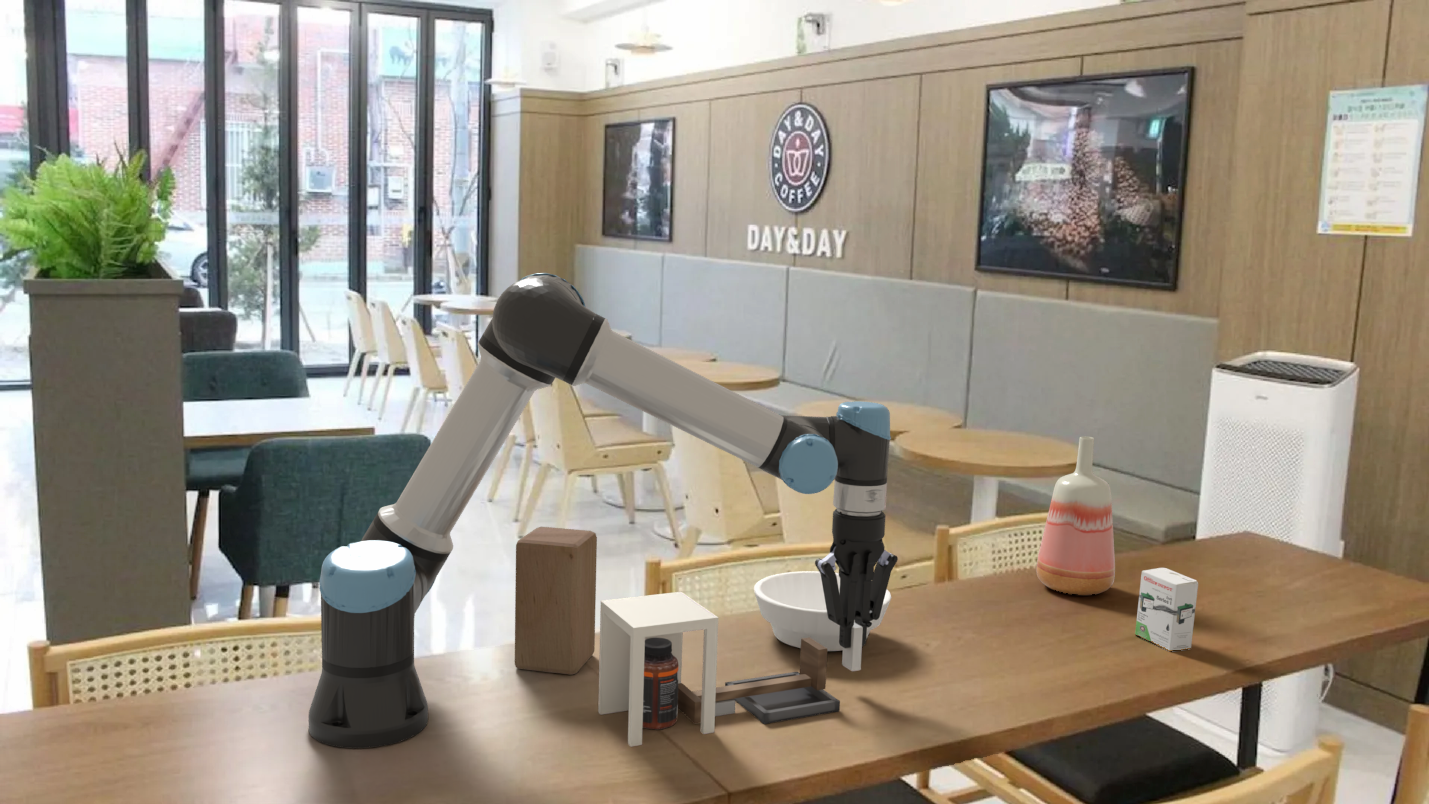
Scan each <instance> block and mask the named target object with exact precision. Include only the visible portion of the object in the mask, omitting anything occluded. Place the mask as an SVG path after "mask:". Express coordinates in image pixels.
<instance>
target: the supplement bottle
mask: <svg viewBox="0 0 1429 804" xmlns="http://www.w3.org/2000/svg"><path fill="white" fill-rule="evenodd" d="M671 652H672V642H671V641H670V640H668V639H665V638H649V639H646V640H645V652H644V689H643V725H642V729H647V730H664V729H668V728H671V727H672V726H674V725H675V724H676V723H677V722H678V712H679V711H678V710H679V709H678V660H677V658H676V657H675V656H673V655H672V653H671Z"/></svg>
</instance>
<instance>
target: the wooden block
mask: <svg viewBox="0 0 1429 804" xmlns="http://www.w3.org/2000/svg"><path fill="white" fill-rule="evenodd" d="M597 542H598V537H597V533H596V532H594V531H591V530H587V529H575V528H572V529H571V528H562V527H552V526H551V527H549V526H537V527H536V528H535V529H533V530H532V531H530V532H528V533H527V534H526V535H524V536H522V537H521V538H520V539H519V540H517V542H516V544H515V592H514V593H515V595H514V596H515V597H514V598H515V602H514V603H515V604H514V605H515V607H514V610H515V611H514V665H515V668H517V669H520V670H527V671H537V672H546V673H553V674H554V673H555V674H563V675H571V676H572V675H575V674H577V673H578V672H579V671H580V670H581V669H582V667H584V665H585V664H586V663H588V661H589V659H591V657H592V656H593V655H594V653H595V645H596V643H595V642H596V596H597V593H596V591H597V557H598V556H597V552H598V551H597V548H598V546H597V544H598V543H597Z"/></svg>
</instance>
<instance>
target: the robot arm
mask: <svg viewBox="0 0 1429 804" xmlns="http://www.w3.org/2000/svg"><path fill="white" fill-rule="evenodd" d="M477 348H478V351H479V356H480V360H479V362H478V364H477V365H476V367H475V369H474V370H473V371H472V372H473V373H472V374H471V376H470V377H469V379H468V381H467V382H466V384H465V386H464V387H463V389H462V390H461V392H460V395H459V396H458V398H457V399H456V400H455V403H454V404H453V407H452V408H451V409H450V411H449V413H448V414H447V416H446V417H445V419H444V422H443V423H442V425H441V426H440V428H439V430H438V431H437V433H436V435H435V437H434V438H433V440H432V442H431V444H430V445H429V446H428V448H427V450H426V452H425V453H424V455H423V457H422V458H421V460H420V461H419V464H418V465H417V467H416V468H415V470H414V472H413V474H412V476H411V477H410V479H409V481H408V482H407V483H406V486H405V487H404V489H403V491H402V492H401V494H400V496H399V498H398V499H397V501H396V502H395V503H394V504H389V505H386V506H382V507H380V508H379V510H378V512H377V513H376V515H375V516H374V518H373V520H372V522H371V524H370V525H369V527H368V529H367V530H366V531H365V533H364V535H363V536H362V538H361V540H360V541H355V542H350V543H348V544H347V546H344V545H343V546H342V545H341V546H339V547H337V548H336V549H334V550H332V551H331V552H330V553H328V555H326V557H325V558H324V560H323V562H322V565H321V572H320V576H319V591H320V622H321V623H320V625H321V627H320V628H321V629H320V630H321V634H320V635H321V674H320V676H319V679H318V683H317V685H316V690H315V692H314V695H313V698H312V701H311V704H310V708H309V711H308V732H309V735H310V736H311V737H312V738H313V739H314V740H315V741H318V742H319V743H322V744H326V745H328V746H333V747H339V748H348V749H364V748H366V749H367V748H377V747H383V746H388V745H393V744H397V743H399V742H403V741H405V740H408V739H410V738H412V737H414V736H416V735H417V734H419V733H421V732H422V731H423V730H424V729H425V728H426V727H427V724H428V722H429V706H428V705H429V704H428V700H427V698H426V695H425V692H424V689H423V687H422V683H421V681H420V678H419V675H418V673H417V669H416V665H415V616H416V615H415V614H416V612H417V610H418V609H419V607H420V605H421V604H422V602H423V601H424V599H425V597H426V596H427V594H428V593H429V592H430V590H431V589H432V587H433V586H434V584H435V581H436V578H437V577H438V575H439V574H440V571H441V570H442V569H443V566H444V565H445V563H446V562H447V560H448V558H449V557H450V554H451V553H452V551H453V549H454V543H453V539H452V538H451V537H452V536H451V532H452V530H453V529H454V527H455V526H456V524H457V522H458V521H459V519H460V518H461V516H462V514H463V512H464V510H465V509H466V507H467V505H468V503H469V502H470V500H471V498H472V497H473V495H474V493H475V492H476V490H477V489H478V487H479V486H480V484H481V482H482V480H483V479H484V477H485V475H486V474H487V472H488V470H489V468H490V467H491V465H492V463H493V462H494V460H495V459H496V457H497V455H498V454H499V452H500V450H501V448H502V447H503V445H504V443H505V442H506V441H507V438H508V437H509V435H510V434H511V432H512V430H513V428H514V427H515V425H516V423H517V422H518V420H519V419H520V417H521V415H522V414H523V411H524V410H525V408H526V407H527V405H528V403H530V402H529V401H530V400H531V398H532V397H533V394H534V393H535V391H537V390H540V389H544V388H549V387H551V385H552V384H553V382H554V381H555V379H558V380H560V381H562V382H564V383H566V384H568V385H571V386H573V387H576V386H580V385H582V384H583V385H584V384H586V385H589V386H591V387H593V388H595V389H597V390H599V391H601V392H602V393H605V394H607V395H609V396H611V397H613V398H616V399H617V400H620V401H621V402H624V403H626V404H627V405H629V406H632V407H633V408H636V409H638V410H640V411H642V412H644V413H646V414H648V415H650V416H652V417H654V418H655V419H658V420H659V421H662V422H664V423H667V424H668V425H670V426H672V427H674V428H677V429H678V430H681V431H683V432H684V433H687V434H688V435H691V436H693V437H695V438H697V439H699V440H702V441H703V442H705V443H707V444H709V445H712V446H714V447H715V448H717V449H719V450H721V451H723V452H726V453H728V454H730V455H731V456H734V457H736V458H738V459H740V460H742V461H744V462H747V463H748V464H750V465H752V466H755V467H756V468H758V469H760V470H761V471H763V472H765V473H767V474H770V475H771V476H772V477H773V476H774V477H775V478H778V479H779V480H782V482H783V483H784V484H785V485H786V487H788V488H790V489H792V490H793V491H795V492H797V493H799V494H804V495H813V494H818V493H821V492H823V491H825V490H826V489H828V487H829V486H830V485H831V484H833V482H834V487H833V498H832V499H833V500H832V505H833V507H834V508H835V509H834V510H833V511H832V526H831V533H832V534H831V535H832V538H833V539H832V544H831V546H830V548H829V553H828V554H827V555H826V556H825V557H823V558H816V559H815V561H814V565H815V567H816V569H817V570H818V571H819V572H820V574H821V580H822V585H823V591H824V597H825V603H826V609H827V614H828V619H829V620H831V621H833V622H834V623H836V624H838V625H840V632H839V644H840V646H842V647H843V650H842V658H841V659H842V661H841V666H843V667H844V668H846V669H847V670H849V671H851V672H857V671H861V670H862V651H863V650H862V649H863V648H862V647H863V646H866V643H867V639H866V635H867V627H870V626H871V625H872V623H871V622H870V621H872V620H877V619H879V617H880V613H881V609H882V605H883V601H884V598H885V594H886V590H888V586H889V583H890V578H891V574H892V571H893V569H894V567H895V566H896V564H897V562H898V560H899V558H898V556H897V555H895V554H893V553H891V552H888V551H887V550H886V549H885V548H886V547H885V544H884V541H883V538H884V537H885V534H886V533H885V531H886V514H885V513H884V510H886V508H887V493H888V491H887V490H888V472H889V471H888V470H889V457H890V444H891V443H890V441H891V440H892V436H891V413H890V411H889V409H888V407H887V406H885V405H884V404H881V403H878V402H872V401H871V402H870V401H858V400H857V401H856V400H855V401H845V402H841V403H840V404H839V405H838V408H837V412H836V414H835V415H831V416H809V415H807V416H805V415H782V414H780V413H777V412H775V411H773V410H771V409H769V408H767V407H765V406H762V405H761V404H759V403H756V402H754V401H753V400H750V399H749V398H747V397H745V396H743V395H741V394H739V393H737V392H735V391H733V390H730V389H728V388H727V387H725V386H723V385H721V384H719V383H717V382H715V381H713V380H712V379H709V378H707V377H705V376H703V375H701V374H699V373H697V372H695V371H693V370H691V369H689V368H687V367H685V366H683V365H681V364H679V363H678V362H675V361H673V360H671V359H669V358H668V357H665V356H663V355H661V354H659V353H657V352H655V351H654V350H651V349H649V348H647V347H646V346H643V345H641V344H640V343H637V342H636V341H633V340H632V339H630V338H628V337H626V336H624V335H621V334H620V333H618V332H616V331H613V330H612V328H611V326H610V323H609V321H608V319H607V318H605V317H603V316H602V315H599V314H597V313H595V312H594V311H592V310H590V309H589V308H587V306H586V303H585V300H584V299H583V296H582V294H580V292H579V290H577V288H576V287H575V286H574V285H573V284H571V283H570V282H569V281H567V280H566V279H565V278H562V277H560V276H558V275H556V274H551V273H547V272H540V273H539V272H537V273H533V274H528V275H526V276H523V277H522V278H520V279H519V280H517V281H516V282H514V283H512V284H510V285H509V286H508V287H507V288H506V289H505V290H504V291H503V292H502V293H501V294H500V296H498V299H497V300H496V302H495V305H494V307H493V311H492V318H491V319H490V321H489V323H488V325H487V327H486V328H485V330H484V332H483V333H482V335H481V336H480V339H479V340H478V341H477ZM836 565H837V567H838V573H839V577H840V594H839V588H838V582H837V577H836V574H835V573H836V570H837V567H836ZM854 620H855V622H854Z"/></svg>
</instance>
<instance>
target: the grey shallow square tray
mask: <svg viewBox="0 0 1429 804" xmlns="http://www.w3.org/2000/svg"><path fill="white" fill-rule="evenodd" d="M799 674H800V671H792V672H785V673H779V674H772V675H771V674H770V675H766V676H764V675H763V676H759V677H753V678H744V679H739V680H733V681H726V682H724V686H730V685H736V684H743V683H749V682H756V681H763V680H769V679H776V678H782V677H789V676H795V675H799ZM734 700H735V703H738V705H740V706H741V707H742V708H744V709H745V710H746V711H747V712H748V713H750V714H751V715H753V717H755V718H756V719H757V721H760V723H762V724H763V725H769V724H771V723H772V724H773V723H778V722H785V721H791V720H797V719H802V718H807V717H808V718H809V717H812V716H814V717H815V716H819V715H826V714H832V713H838V712H840V709H841V701H840V700H839V699H838V698H836V697H835V696H833V695H832V694H831V693H829V692H828V691H827V690H826V689H822V690H816V689H814V688H813V687H811V686H810V687H804V688H798V689H791V690H785V691H779V692H772V693H766V694H760V695H754V696H747V697H741V698H735V699H734Z"/></svg>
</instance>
